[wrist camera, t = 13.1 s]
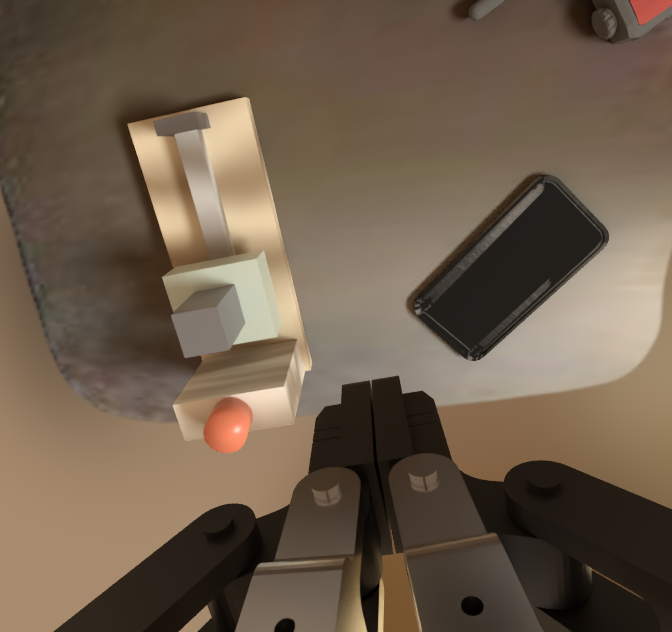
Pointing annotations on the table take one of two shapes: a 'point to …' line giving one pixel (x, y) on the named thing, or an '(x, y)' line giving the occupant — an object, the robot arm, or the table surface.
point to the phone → (511, 268)
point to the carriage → (222, 303)
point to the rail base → (235, 197)
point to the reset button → (228, 425)
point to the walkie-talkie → (608, 16)
